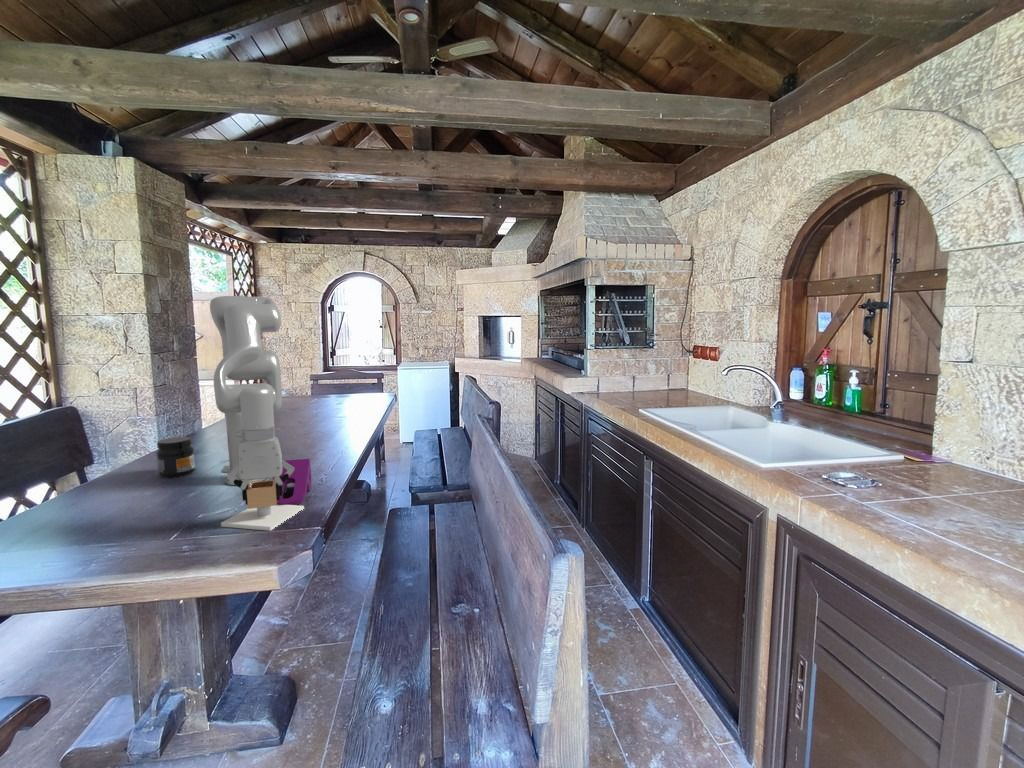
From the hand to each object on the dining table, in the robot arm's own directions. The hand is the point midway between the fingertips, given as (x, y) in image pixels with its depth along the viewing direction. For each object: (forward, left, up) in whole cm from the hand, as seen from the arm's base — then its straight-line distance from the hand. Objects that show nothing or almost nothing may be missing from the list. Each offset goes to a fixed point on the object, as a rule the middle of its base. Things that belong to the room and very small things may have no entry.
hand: (263, 500), depth 126 cm
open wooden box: (0, 0, -1) cm, 1 cm away
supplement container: (-55, +28, -5) cm, 62 cm away
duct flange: (0, 0, -5) cm, 5 cm away
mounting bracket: (-3, +15, -5) cm, 16 cm away
